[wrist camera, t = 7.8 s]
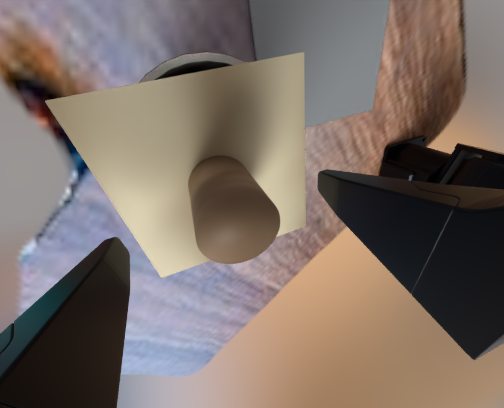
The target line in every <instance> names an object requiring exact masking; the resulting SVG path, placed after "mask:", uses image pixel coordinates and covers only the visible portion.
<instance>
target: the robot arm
mask: <svg viewBox="0 0 504 408" xmlns="http://www.w3.org/2000/svg"><path fill="white" fill-rule="evenodd" d="M426 140H427V136H424V135H422V136H419V137H415V138H412V139H409V140H406V141H403V142H399V143H396V144H393V145H390V146H388V147H386V149H385V153H384V157H383V162H382V167H381V171H380V176H374V175H366V174H358V173H351V172H343V171H336V170H328V169H327V170H323V171H320V172H319V173H318V191H319V192H320V194H321V195H322V196H323V198H324V199H325V200H326V202H327V203H328V205H329V206H330V207H331V209H332V210H333V211H334V212H335V214H336V215H337V216H338V217H339V218H340V219H341V220H342V221H343V222H344V223H345V225H346V226H347V227H348V228H349V229H350V230H351V231H352V232H353V233H354V234H355V235H356V236H357V237H358V238H359V239H360V240H361V242H363V244H364V245H365V246H366V247H367V248H368V249H369V250H370V251H371V252H372V253H373V254H374V255H375V256H376V257H377V258H378V260H379V261H380V262H381V263H382V264H383V265H384V266H385V267H386V268H387V269H388V270H389V271H390V272H391V273H392V274H393V275H394V276H395V278H396V279H397V280H398V281H399V282H400V283H401V284H402V285H403V286H404V287H405V288H406V289H407V290H408V291H409V293H411V294H412V296H413V297H414V298H415V299H416V300H417V301H418V302H419V303H420V304H421V305H422V306H423V307H424V309H425V310H426V311H427V312H428V313H429V314H430V315H431V316H432V317H433V318H434V319H435V320H436V321H437V322H438V323H439V324H440V326H441V327H443V329H444V330H445V331H446V332H447V333H448V334H449V335H450V336H451V337H452V338H453V339H454V340H455V342H456V343H457V344H458V345H459V346H460V347H461V348H462V349H463V350H464V351H465V352H466V353H467V354H468V355H469V356H470V357H471V358H472V359H473V360H476V359H477V358H479V357H481V356H482V355H484V354H486V353H487V352H489V351H491V350H493V349H494V348H496V347H498V346H500V345H501V344H503V343H504V153H501V152H496V151H492V150H487V149H483V148H479V147H474V146H469V145H464V144H459V143H458V144H457V145H456V147H455V150H454V151H453V153H452V154H449V153H445V152H441V151H438V150H434V149H431V148H427V147H424V146H425V143H426ZM481 156H482V157H481ZM129 296H130V255H129V252H128V250H127V249H126V247H125V246H124V244H123V243H122V242H121V240H120V239H119V238H118V237H113V238H110V239H107V240H104V241H103V242H102V243H101V244H100V245H99V246H98V247H97V248H95V249H94V250H93V251H92V252H91V253H90V254H89V255H88V256H86V257H85V258H84V259H83V260H82V261H81V262H80V263H79V264H78V265H76V266H75V267H74V268H73V269H72V270H71V271H70V272H69V273H68V274H66V275H65V276H64V277H63V278H62V279H61V280H60V281H59V282H57V283H56V284H55V285H54V286H53V287H52V288H51V289H50V290H49V291H47V292H46V293H45V294H44V295H43V296H42V297H41V298H40V299H38V300H37V301H36V302H35V303H34V304H33V305H32V306H31V307H30V308H28V309H27V310H26V311H25V312H24V313H23V314H22V315H21V316H20V317H18V318H17V319H16V320H15V321H14V323H12V324H10V325H9V326H8V327H7V328H6V329H5V330H4V331H3V332H2V333H1V334H0V408H117V399H118V391H119V382H120V374H121V365H122V357H123V348H124V339H125V330H126V322H127V313H128V304H129Z"/></svg>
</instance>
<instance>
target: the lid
mask: <svg viewBox="0 0 504 408" xmlns="http://www.w3.org/2000/svg"><path fill="white" fill-rule="evenodd" d="M45 102H46V104H47V105H48V107H49V108H50V110H51V111H52V113H53V114H54V116H55V117H56V119H57V120H58V122H59V123H60V125H61V126H62V128H63V129H64V131H65V132H66V134H67V135H68V137H69V139H70V140H71V142H72V143H73V145H74V146H75V148H76V149H77V151H78V152H79V154H80V155H81V157H82V158H83V160H84V161H85V163H86V164H87V166H88V167H89V169H90V170H91V172H92V173H93V175H94V176H95V178H96V179H97V181H98V182H99V184H100V186H101V187H102V189H103V190H104V192H105V193H106V195H107V196H108V198H109V199H110V201H111V202H112V204H113V205H114V207H115V208H116V210H117V211H118V213H119V214H120V216H121V217H122V219H123V220H124V222H125V223H126V225H127V226H128V228H129V229H130V231H131V232H132V234H133V236H134V237H135V239H136V240H137V242H138V243H139V245H140V246H141V248H142V249H143V251H144V252H145V254H146V255H147V257H148V258H149V260H150V261H151V263H152V264H153V266H154V267H155V269H156V270H157V272H158V273H159V275H160V276H161V278H163V277H166V276H168V275H171V274H174V273H177V272H180V271H182V270H185V269H188V268H191V267H194V266H196V265H199V264H202V263H205V262H208V261H210V260H212V261H214V262H218V263H223V264H235V263H241V262H244V261H247V260H250V259H252V258H254V257H256V256H258V255H259V254H261V253H262V252H263V251H265V250H266V249H267V248H268V247H269V246H270V245H271V244H272V242H273V241H274V240H275V238H276V237H277V236H280V235H283V234H286V233H289V232H291V231H294V230H297V229H300V228H302V227H305V226H306V209H305V82H304V52H301V53H296V54H290V55H285V56H280V57H274V58H269V59H264V60H259V61H253V62H248V63H243V64H237V65H232V66H227V67H222V68H216V69H211V70H206V71H200V72H195V73H190V74H184V75H179V76H174V77H169V78H163V79H158V80H153V81H147V82H142V83H137V84H131V85H126V86H121V87H116V88H110V89H105V90H100V91H94V92H89V93H84V94H79V95H73V96H68V97H63V98H57V99H52V100H47V101H45Z"/></svg>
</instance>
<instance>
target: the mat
mask: <svg viewBox="0 0 504 408" xmlns="http://www.w3.org/2000/svg"><path fill="white" fill-rule="evenodd" d="M248 1H249V9H250V17H251V25H252V33H253V41H254V50H255V58H256V61H259V60H264V59H269V58H274V57H280V56H285V55H290V54H296V53H301V52H304V82H305V128H306V127H310V126H314V125H317V124H321V123H325V122H328V121H332V120H336V119H339V118H343V117H347V116H351V115H354V114H358V113H362V112H365V111H369V110H373V103H374V97H375V91H376V85H377V79H378V72H379V66H380V60H381V54H382V47H383V41H384V35H385V29H386V23H387V16H388V10H389V4H390V0H248Z"/></svg>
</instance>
